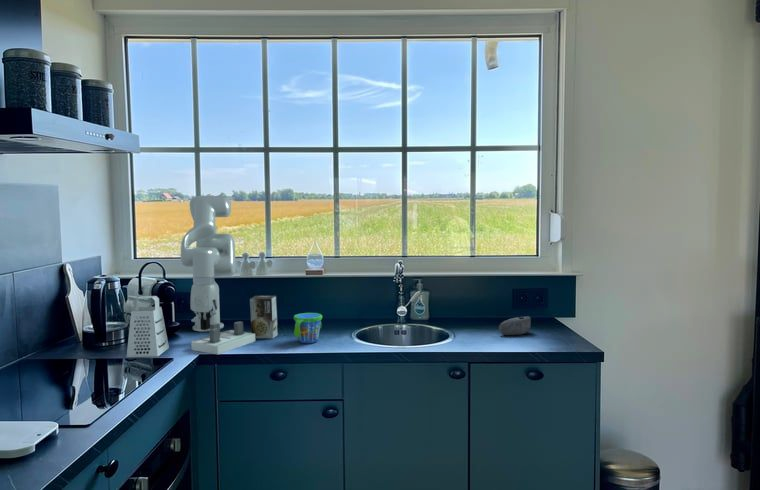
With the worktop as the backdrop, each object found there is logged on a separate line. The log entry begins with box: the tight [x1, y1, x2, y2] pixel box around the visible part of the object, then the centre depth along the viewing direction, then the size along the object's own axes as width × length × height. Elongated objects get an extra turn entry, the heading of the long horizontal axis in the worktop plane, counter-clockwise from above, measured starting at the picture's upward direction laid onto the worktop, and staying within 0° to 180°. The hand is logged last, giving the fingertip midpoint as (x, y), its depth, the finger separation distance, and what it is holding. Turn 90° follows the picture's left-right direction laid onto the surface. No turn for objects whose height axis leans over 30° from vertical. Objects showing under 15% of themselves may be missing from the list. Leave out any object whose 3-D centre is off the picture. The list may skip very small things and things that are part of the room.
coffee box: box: [249, 295, 278, 339], centre depth 190 cm, size 9×6×16 cm
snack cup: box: [293, 312, 323, 344], centre depth 183 cm, size 16×10×10 cm
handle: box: [208, 328, 221, 343], centre depth 172 cm, size 3×3×4 cm
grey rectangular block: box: [208, 323, 221, 337], centre depth 180 cm, size 3×3×4 cm
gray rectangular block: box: [233, 321, 245, 335], centre depth 183 cm, size 3×3×4 cm
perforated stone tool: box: [498, 315, 532, 336], centre depth 191 cm, size 15×5×7 cm, turn 106°
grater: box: [126, 295, 170, 358], centre depth 170 cm, size 10×10×20 cm
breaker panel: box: [191, 329, 256, 355], centre depth 178 cm, size 13×19×3 cm
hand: (205, 329), depth 182 cm, fingers closed
